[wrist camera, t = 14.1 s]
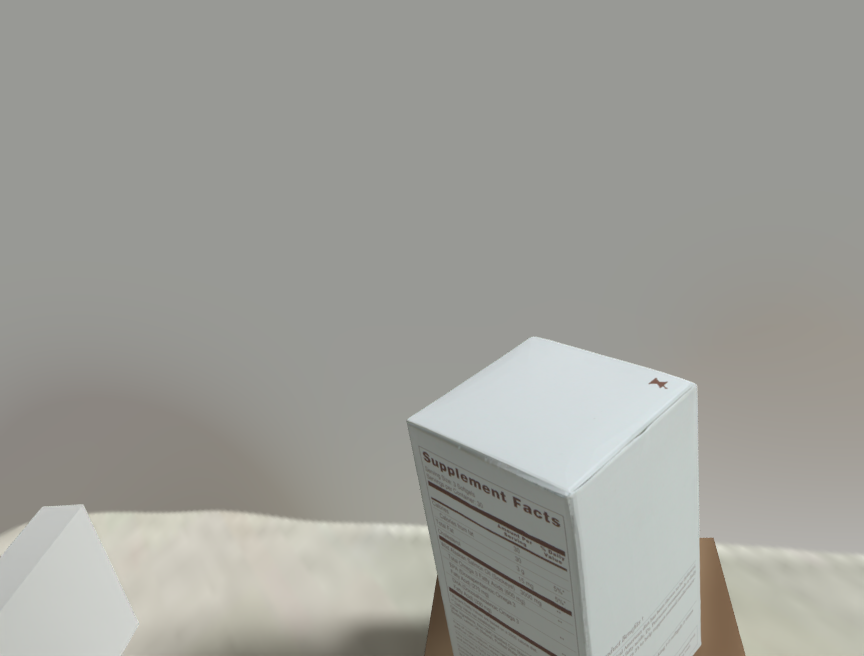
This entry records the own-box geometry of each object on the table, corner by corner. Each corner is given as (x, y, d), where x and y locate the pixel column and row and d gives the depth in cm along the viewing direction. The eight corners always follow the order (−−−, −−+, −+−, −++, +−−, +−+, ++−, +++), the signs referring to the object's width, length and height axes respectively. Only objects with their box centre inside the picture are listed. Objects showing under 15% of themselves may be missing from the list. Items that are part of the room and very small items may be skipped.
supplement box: (560, 569, 38) (535, 329, 32) (706, 648, 32) (706, 378, 27) (449, 672, 33) (399, 415, 28) (598, 781, 28) (572, 493, 23)
